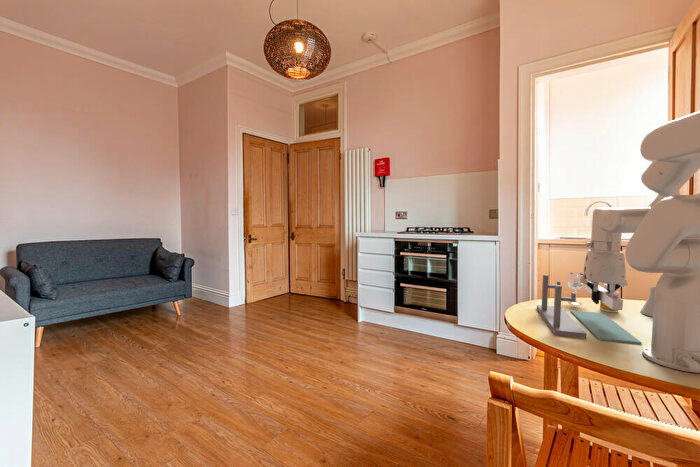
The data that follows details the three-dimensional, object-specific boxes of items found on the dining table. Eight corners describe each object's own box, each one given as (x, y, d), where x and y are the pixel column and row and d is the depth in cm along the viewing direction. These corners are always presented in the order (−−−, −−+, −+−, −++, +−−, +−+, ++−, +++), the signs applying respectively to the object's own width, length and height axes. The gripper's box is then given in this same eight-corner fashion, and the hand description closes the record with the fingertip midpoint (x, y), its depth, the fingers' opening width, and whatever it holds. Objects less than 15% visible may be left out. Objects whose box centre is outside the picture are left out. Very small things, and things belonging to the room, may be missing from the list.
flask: (673, 319, 114) (675, 290, 113) (649, 317, 116) (650, 289, 115) (658, 312, 121) (660, 285, 121) (635, 311, 123) (637, 284, 122)
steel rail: (622, 310, 95) (623, 300, 95) (612, 309, 96) (612, 299, 96) (592, 290, 118) (593, 281, 117) (585, 289, 119) (585, 281, 118)
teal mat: (641, 344, 92) (641, 342, 92) (598, 339, 96) (598, 337, 95) (603, 314, 118) (603, 313, 118) (570, 311, 122) (570, 310, 122)
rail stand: (586, 338, 97) (588, 291, 96) (554, 335, 99) (556, 288, 98) (561, 311, 123) (562, 273, 122) (536, 308, 126) (538, 272, 125)
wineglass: (584, 303, 133) (586, 273, 133) (582, 306, 129) (584, 275, 128) (568, 300, 137) (569, 271, 137) (565, 303, 133) (566, 273, 132)
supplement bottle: (599, 307, 127) (601, 282, 127) (617, 310, 124) (619, 284, 124) (600, 311, 123) (601, 285, 122) (618, 313, 120) (620, 287, 119)
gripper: (579, 247, 105) (575, 304, 106) (642, 249, 99) (637, 309, 101) (572, 244, 112) (569, 298, 113) (630, 246, 106) (626, 302, 108)
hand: (601, 302), depth 107 cm, fingers closed on steel rail, 2 cm apart
